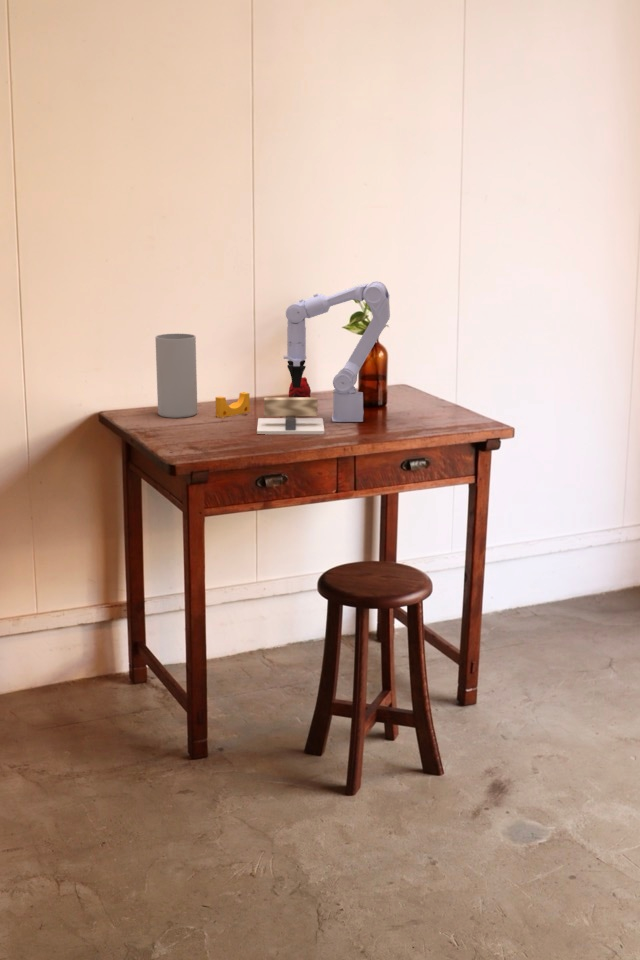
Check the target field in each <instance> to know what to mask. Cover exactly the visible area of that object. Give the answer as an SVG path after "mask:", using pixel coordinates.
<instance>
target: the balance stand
mask: <svg viewBox="0 0 640 960" xmlns="http://www.w3.org/2000/svg"><path fill="white" fill-rule="evenodd" d="M257 419H258V420H257V428H256V435H257V434H265V435H325V427H324V425H325V424H324V419H323V418H322V417H297V416H285V417H281V418H280V417H279V418H278V417H277V418H276V417H275V418H274V417H267V418H266V417H265V418H263V417H262V418H261V417H258V418H257Z"/></svg>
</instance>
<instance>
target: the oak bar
mask: <svg viewBox="0 0 640 960" xmlns="http://www.w3.org/2000/svg"><path fill="white" fill-rule="evenodd" d="M263 401H264V402H263V408H264V413H263V415H264V417H286V416H296V417H318V405H319V404H318V403H319V402H318V397H313V396H311V397H289V396H288V397H287V396H286V397H285V396H284V397H263Z"/></svg>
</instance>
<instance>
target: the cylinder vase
mask: <svg viewBox="0 0 640 960" xmlns="http://www.w3.org/2000/svg"><path fill="white" fill-rule="evenodd" d="M196 341H197V340H196V335H195V334H191V333H163V334H158V335H155V361H156V362H155V363H156V391H157V395H156V396H157V413H158V415H159V416H160V417H163V418H167V419H168V418H170V419H171V418H172V419H181V418H182V419H183V418H190V417H194V416H195V415H197V414H198V381H197V376H198V375H197V345H196V343H197V342H196Z"/></svg>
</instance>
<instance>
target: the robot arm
mask: <svg viewBox="0 0 640 960" xmlns="http://www.w3.org/2000/svg"><path fill="white" fill-rule="evenodd" d="M352 300H355V301H359V302H363V301H364V302H365V303H366V304H367V306H368V307H369V308H370V312H371V315H372V318H371V320H370V322H369V324H368V325H367V327H366V329H365V330H364V332H363V334H362V336H361V337H360V339H359V340H358V343H357V344H356V346H355V348H354V350H353V351H352V353H351V355H350V356H349V359H348V360H347V361H346V364H345V365H344V366H343V368H341V369H340V370H339V372H338V373H337V374H336V375H335V376H334V377H333V379H332V385H333V388H334V389H333V390H332V391H333V393H332V394H333V397H332V398H333V402H332V403H333V407H332V408H333V409H332V411H333V413H332V415H331V422H332V423H362V422H364V413H365V411H364V392H362V391H358V390H357V388H356V387H355V385H356V383H357V380H358V375H359V374H358V373H359V372H360V370H361V368H362V367H363V365H364V363H365V361H366V359H367V358H368V356H369V354H370V353H371V351H372V349H373V348H374V345H375V344H376V342H377V341H378V339H379V337H380V336H381V334H382V332H383V330H384V329H385V327H386V325H387V323H388V322H389V320H390V317H391V311H390V309H391V308H390V307H391V306H390V294H389V291H388V288H387V287H386V285H385V284H384V283H383V282H381V281H372V282H371V283H363V284H359V285H355V286H352V287H350V288H348V289H344V290H342V291H339V292H336V293H334V294H332V295H329V296H326V295H324V294H322V293H321V294H319V293H316V294H313V297H310V298H307V299H303V298H301V299H299V302H295V303H291V304H290V305H289V306H288V307H287V308H286V310H285V318H286V319H287V329H286V335H287V337H286V338H287V341H286V348H287V349H286V351H287V352H286V355H283V359H284V360H285V359H286V360H287V361H286V362H287V370H288V371H289V373H290V374H289V375H290V378H291V382H292V385H293V388H300V385H301V379H302V378H303V376H304V375H303V374H304V371H305V370H306V366H307V365H306V364H305V363H306V360H307V352H306V349H307V348H306V347H307V345H306V343H307V339H306V336H307V335H306V332H307V331H306V330H307V329H306V328H307V327H306V319H311V318H314V317H318V316H319V315H323V314H326V313H328V312H329V311H330V307H332V306H333V307H334V306H337V305H339V304H342V303H343V304H344V303H346V302H349V301H352Z"/></svg>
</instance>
